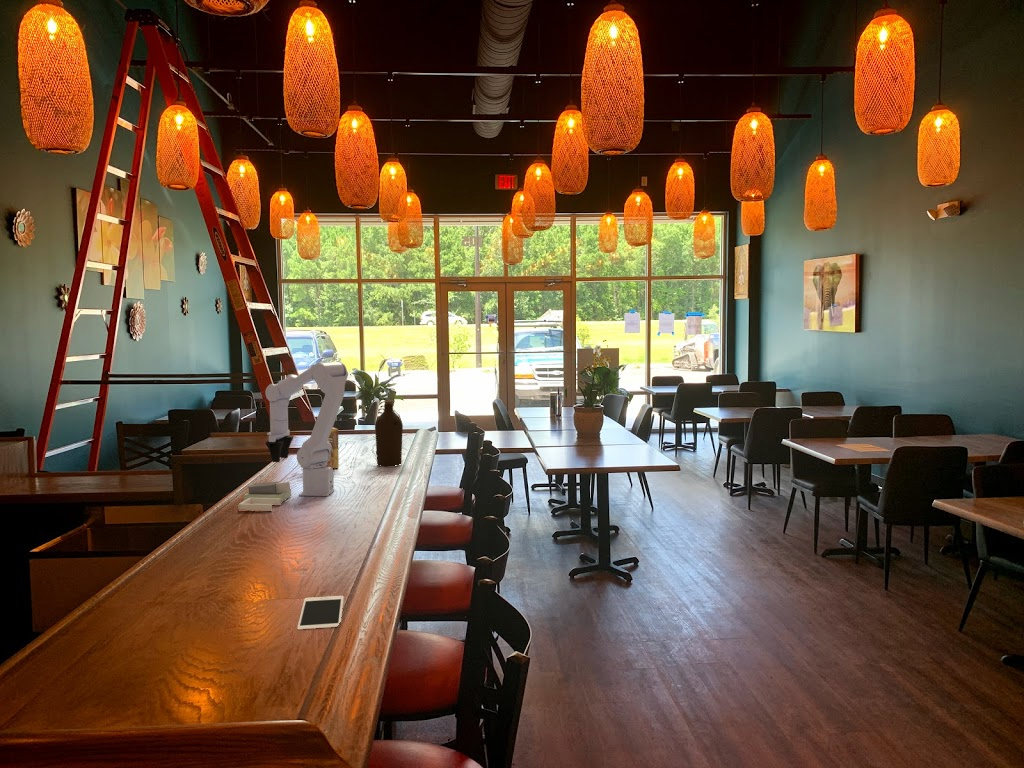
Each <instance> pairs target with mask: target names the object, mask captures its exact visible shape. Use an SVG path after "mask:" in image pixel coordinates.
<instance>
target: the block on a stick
mask: <svg viewBox="0 0 1024 768" xmlns="http://www.w3.org/2000/svg"><path fill="white" fill-rule="evenodd" d="M290 489H291V484H290V481H283V482H282V481H281V482H280V481H273V482H272V481H269V482H268V481H267V482H259V483H253V484H251V485H249V486H248V492H249V494H260V495H280V494H281V493H283V492H290Z"/></svg>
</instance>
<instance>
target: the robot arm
mask: <svg viewBox="0 0 1024 768" xmlns="http://www.w3.org/2000/svg"><path fill="white" fill-rule="evenodd" d="M348 377H349V373H348V370H347V367H346V365H345V363H344V362H342V361H331V362H316V363H314V364H312V365H311V366H310V367H309V368H307V369H305V370H304V371H302V372H300V373H299V374H298V375H297V374H293V373H292V374H287V376H286V378H284V379H282V380H281V379H280V380H278V382H277V383H269V385H268V386H267V387H266V388H265V397H266V399H267V400H268V401H269V424H270V425H269V427H270V429H269V430H270V431H269V432H266V435H267V436H268V440H266V441H265V445H266V447H267V449H268V451H269V454H270V458H271V461H272V463H280V461H281V459H287V458H288V457H289V451H290V447H291V444H292V442H293V439H294V436H293V435H292V436H290V432H291V431H290V430H291V429H289V408H288V406H289V405H290V399H291V397H292V396H293V395H295V394H297V393H299V392H301V390H302V389H303V388H304V385H306V384H308V383H310V382H312V381H314V382H315V383H316V385H317V387H318V388H319V390H320V391H321V392H322V393H323V394H324V397H323V400H322V404H321V406H320V409H319V412H318V414H317V418H316V420H315V422H314V423H315V424H314V427H313V429H312V430H313V431H312V432H311V435H310V437H309V438H307V439H306V440H305V441H304V442H303V443H302V445H301V446H300V448H299V449H298V450H297V452H296V460H297V463H298V464H299V466H300V468H302V491H301V492H300V493H298V496H299V497H302V496H303V497H328V496H330V495H331V494H332V493H333V492H335V487H334V486H335V485H334V482H335V481H334V479H335V478H334V469H333V468H332V467H327V466H326V465H327V462H328V461H329V460H330V456H331V453H330V452H331V447H332V446H331V444H330V443H329V442H328V439H329V436H330V433H331V430H332V428H334V425H335V422H336V419H337V416H338V414H339V410H340V407H341V405H342V402H343V399H344V397H345V388H346V382H347V379H348ZM329 494H330V495H329Z"/></svg>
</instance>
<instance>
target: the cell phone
mask: <svg viewBox="0 0 1024 768" xmlns="http://www.w3.org/2000/svg"><path fill="white" fill-rule="evenodd" d="M344 598H345V596H344V595H332V596H331V595H329V596H316V597H315V596H314V597H312V596H311V597H305V598H304V600H303V603H302V608H301V611H300V615H299V616H300V617H299V619H298V623H297V628H296V630H298V631H304V630H303V629H310V630H317V629H316V628H324V629H332V628H331V627H337V626H338V625H339V623H340V622H341V623H342V618H343V617H342V616H343V609H342V608H343V607H344ZM341 617H342V618H341Z"/></svg>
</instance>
